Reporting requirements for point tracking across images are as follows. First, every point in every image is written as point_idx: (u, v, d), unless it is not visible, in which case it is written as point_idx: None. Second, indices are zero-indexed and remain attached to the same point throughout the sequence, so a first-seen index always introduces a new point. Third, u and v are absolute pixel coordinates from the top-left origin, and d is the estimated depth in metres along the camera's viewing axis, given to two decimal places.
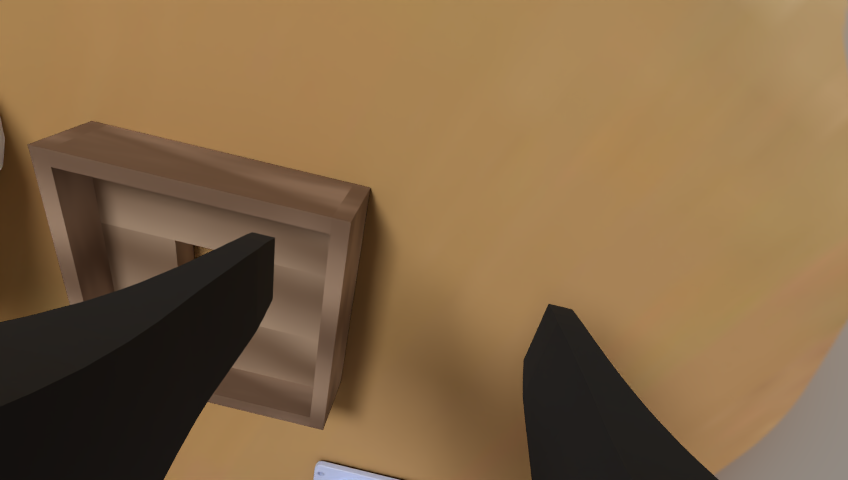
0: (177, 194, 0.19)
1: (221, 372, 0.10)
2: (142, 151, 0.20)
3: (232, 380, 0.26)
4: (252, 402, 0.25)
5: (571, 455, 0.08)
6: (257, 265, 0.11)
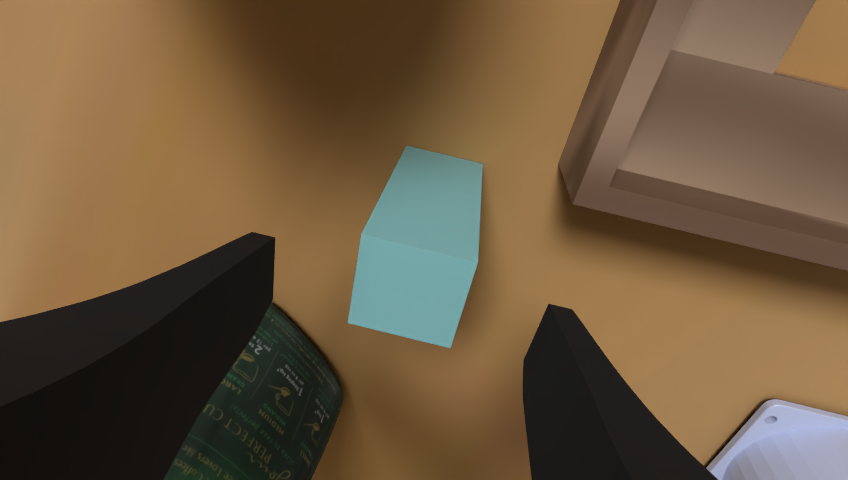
0: None
1: (221, 372, 0.10)
2: None
3: (815, 224, 0.14)
4: None
5: (571, 455, 0.08)
6: (257, 265, 0.11)
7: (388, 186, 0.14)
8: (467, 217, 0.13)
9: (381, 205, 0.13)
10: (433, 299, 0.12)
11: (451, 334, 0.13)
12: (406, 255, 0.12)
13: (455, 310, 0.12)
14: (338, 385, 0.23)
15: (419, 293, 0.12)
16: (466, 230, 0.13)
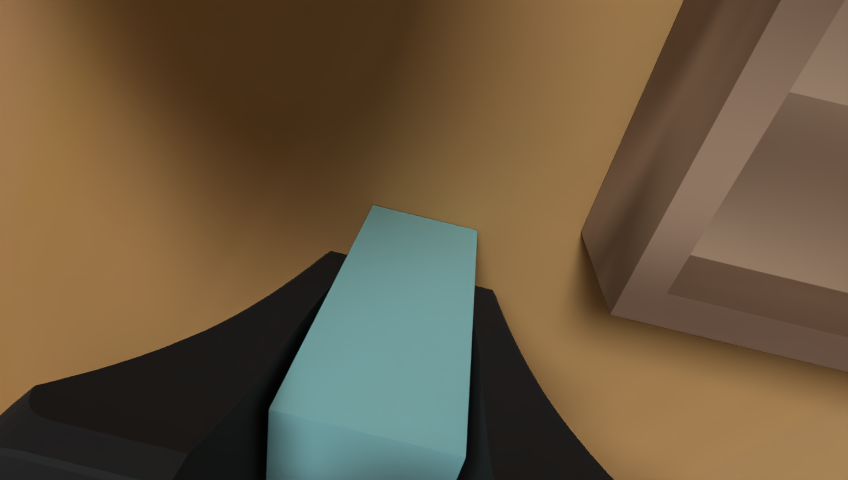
0: None
1: None
2: None
3: None
4: None
5: None
6: None
7: (334, 288, 0.09)
8: (452, 344, 0.09)
9: (316, 332, 0.08)
10: None
11: None
12: (346, 441, 0.07)
13: None
14: None
15: None
16: (449, 375, 0.08)
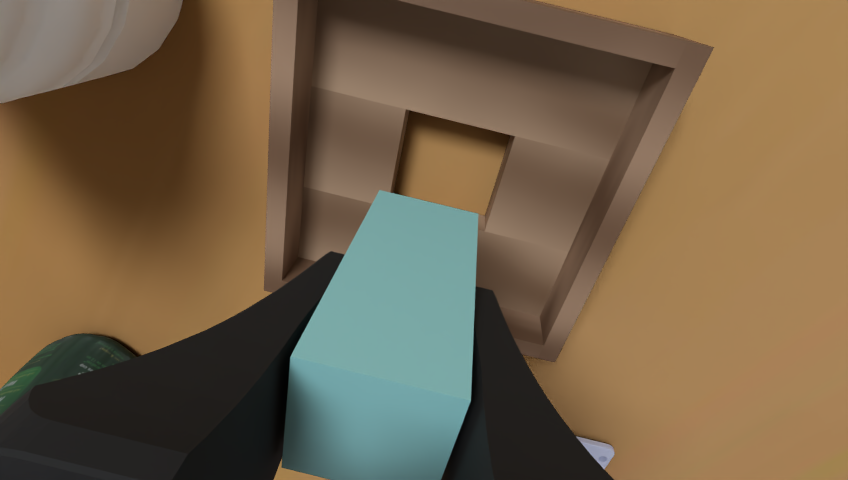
0: (471, 12, 0.14)
1: None
2: None
3: None
4: None
5: (464, 429, 0.08)
6: None
7: (346, 259, 0.10)
8: (456, 308, 0.09)
9: (331, 295, 0.09)
10: (404, 443, 0.08)
11: None
12: (360, 387, 0.08)
13: (437, 459, 0.08)
14: None
15: (382, 435, 0.08)
16: (454, 334, 0.09)
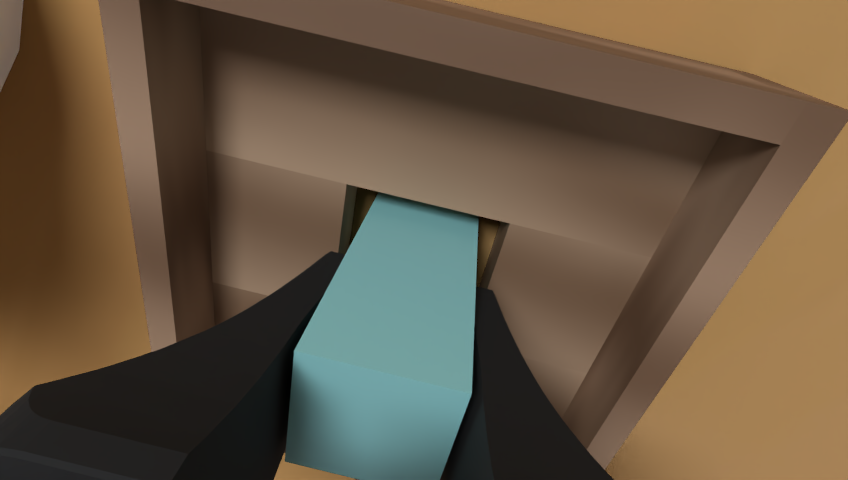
0: (431, 52, 0.08)
1: None
2: None
3: None
4: None
5: (463, 429, 0.08)
6: None
7: (348, 256, 0.10)
8: (457, 304, 0.09)
9: (333, 291, 0.09)
10: (406, 437, 0.08)
11: None
12: (363, 381, 0.08)
13: (439, 452, 0.08)
14: None
15: (384, 428, 0.08)
16: (455, 329, 0.09)
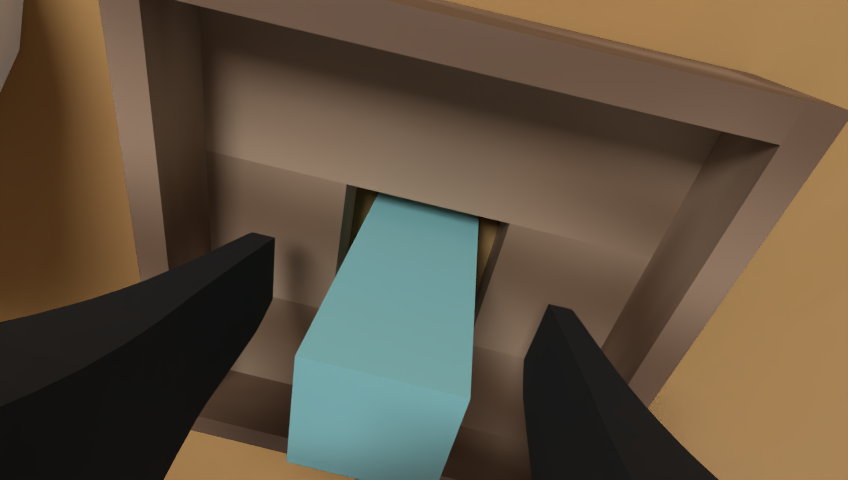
0: (431, 52, 0.08)
1: (221, 372, 0.10)
2: None
3: None
4: (451, 475, 0.15)
5: (571, 455, 0.08)
6: (257, 265, 0.11)
7: (348, 258, 0.10)
8: (456, 307, 0.10)
9: (334, 295, 0.09)
10: (405, 440, 0.08)
11: None
12: (363, 386, 0.08)
13: (438, 455, 0.08)
14: None
15: (384, 431, 0.08)
16: (454, 333, 0.09)
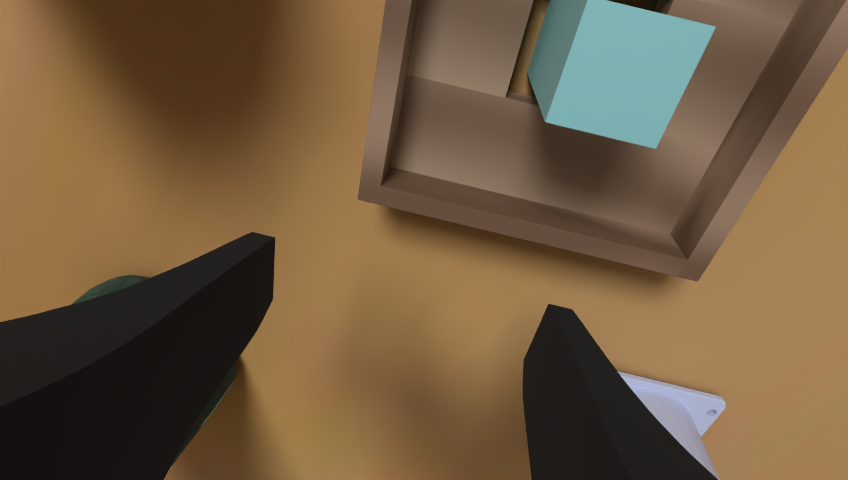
0: None
1: (221, 372, 0.10)
2: None
3: (555, 215, 0.18)
4: (602, 238, 0.17)
5: (571, 455, 0.08)
6: (257, 265, 0.11)
7: None
8: None
9: None
10: (652, 81, 0.11)
11: (661, 130, 0.12)
12: (634, 22, 0.11)
13: (674, 95, 0.11)
14: None
15: (636, 74, 0.11)
16: None
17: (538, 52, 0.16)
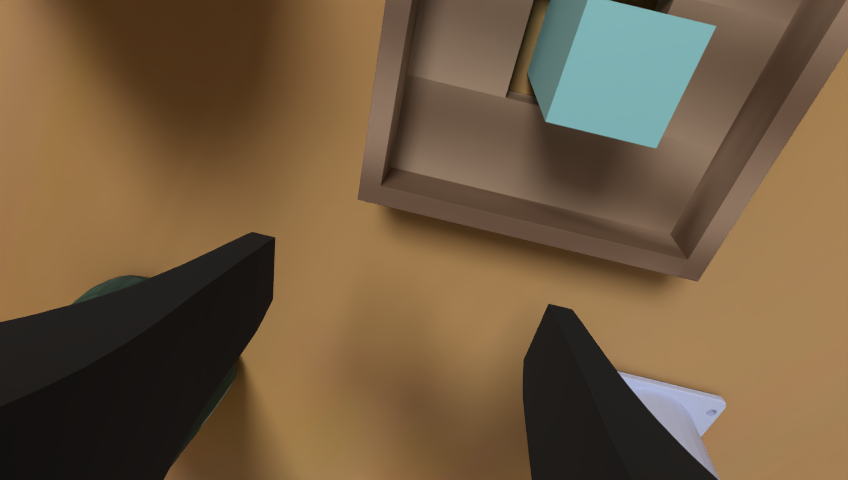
0: None
1: (221, 372, 0.10)
2: None
3: (555, 215, 0.18)
4: (602, 238, 0.17)
5: (571, 455, 0.08)
6: (257, 265, 0.11)
7: None
8: None
9: None
10: (652, 81, 0.11)
11: (661, 129, 0.12)
12: (634, 22, 0.11)
13: (674, 95, 0.11)
14: None
15: (637, 73, 0.11)
16: None
17: (538, 52, 0.16)
